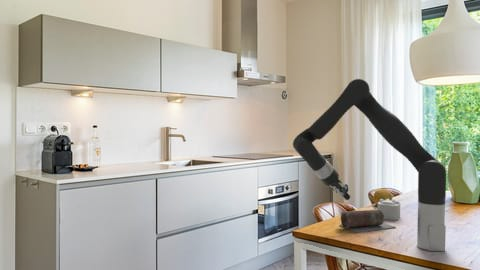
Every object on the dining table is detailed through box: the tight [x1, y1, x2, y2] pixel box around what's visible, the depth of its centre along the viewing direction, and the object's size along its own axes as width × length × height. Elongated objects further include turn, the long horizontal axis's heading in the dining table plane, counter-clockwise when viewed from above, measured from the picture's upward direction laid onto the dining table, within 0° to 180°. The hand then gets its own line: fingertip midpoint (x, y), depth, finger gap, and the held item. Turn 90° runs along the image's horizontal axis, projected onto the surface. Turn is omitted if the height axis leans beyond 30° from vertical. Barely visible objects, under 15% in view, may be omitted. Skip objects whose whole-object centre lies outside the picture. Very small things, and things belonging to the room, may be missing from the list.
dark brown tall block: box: [340, 209, 385, 229], centre depth 172 cm, size 8×7×20 cm
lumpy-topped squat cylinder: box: [377, 198, 401, 221], centre depth 195 cm, size 10×13×9 cm
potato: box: [372, 188, 393, 207], centre depth 222 cm, size 10×12×10 cm
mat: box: [339, 222, 397, 233], centre depth 174 cm, size 22×12×1 cm, turn 112°
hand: (348, 198), depth 169 cm, fingers closed
